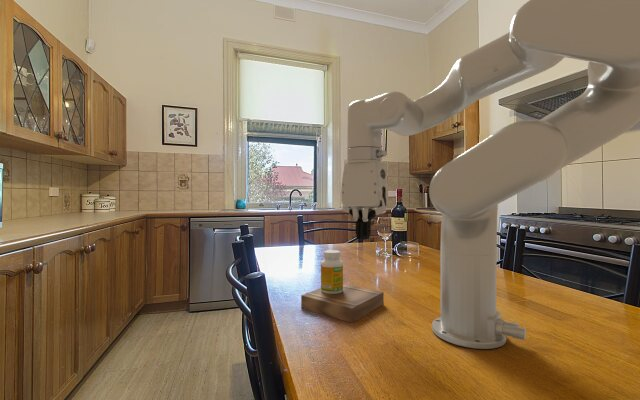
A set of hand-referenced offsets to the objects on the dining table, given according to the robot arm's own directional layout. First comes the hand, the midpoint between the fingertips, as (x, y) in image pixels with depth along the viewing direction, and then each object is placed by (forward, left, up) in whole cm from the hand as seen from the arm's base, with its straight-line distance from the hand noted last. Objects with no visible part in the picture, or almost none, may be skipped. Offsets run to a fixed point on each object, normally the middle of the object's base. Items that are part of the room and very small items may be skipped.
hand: (363, 238), depth 71 cm
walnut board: (+6, 0, -17) cm, 17 cm away
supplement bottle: (+9, 0, -14) cm, 16 cm away
